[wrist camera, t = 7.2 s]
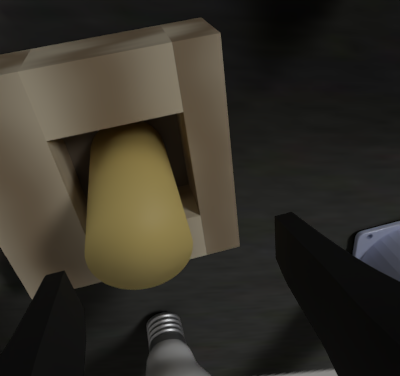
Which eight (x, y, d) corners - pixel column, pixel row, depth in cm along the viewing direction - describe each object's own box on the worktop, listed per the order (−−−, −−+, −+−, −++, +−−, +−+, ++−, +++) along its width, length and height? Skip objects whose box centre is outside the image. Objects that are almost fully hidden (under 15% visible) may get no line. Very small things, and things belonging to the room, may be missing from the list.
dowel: (154, 109, 19) (180, 194, 13) (172, 172, 22) (201, 271, 15) (78, 130, 19) (66, 227, 13) (104, 192, 22) (106, 301, 15)
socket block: (201, 17, 18) (220, 32, 15) (223, 210, 25) (239, 246, 22) (-61, 66, 17) (-94, 93, 14) (40, 255, 24) (32, 299, 21)
